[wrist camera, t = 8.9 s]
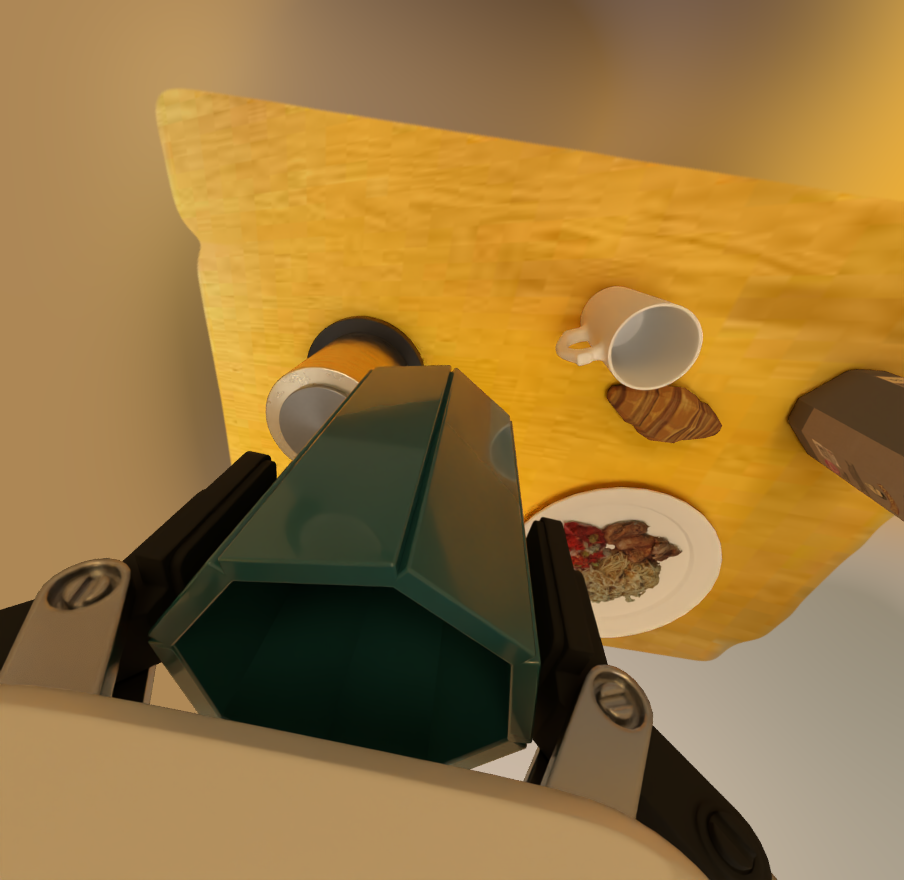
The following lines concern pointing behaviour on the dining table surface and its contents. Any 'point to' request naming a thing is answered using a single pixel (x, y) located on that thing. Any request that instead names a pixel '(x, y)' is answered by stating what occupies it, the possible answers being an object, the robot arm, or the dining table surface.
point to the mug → (635, 338)
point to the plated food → (637, 555)
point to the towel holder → (332, 376)
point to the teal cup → (376, 584)
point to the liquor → (858, 432)
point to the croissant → (664, 413)
